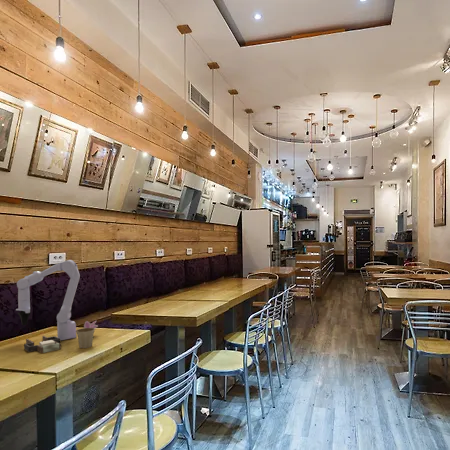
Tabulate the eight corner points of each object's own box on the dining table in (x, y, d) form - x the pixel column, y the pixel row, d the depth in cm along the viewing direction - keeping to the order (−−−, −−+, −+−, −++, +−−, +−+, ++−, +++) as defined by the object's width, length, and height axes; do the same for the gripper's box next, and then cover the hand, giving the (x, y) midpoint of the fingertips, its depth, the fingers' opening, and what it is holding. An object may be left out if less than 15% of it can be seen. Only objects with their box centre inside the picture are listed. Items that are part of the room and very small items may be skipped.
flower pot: (99, 345, 198) (99, 328, 198) (85, 350, 189) (85, 332, 190) (85, 343, 202) (85, 327, 202) (71, 348, 193) (71, 331, 194)
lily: (102, 335, 223) (95, 321, 225) (103, 331, 213) (96, 316, 215) (81, 345, 217) (75, 330, 219) (82, 341, 207) (75, 325, 209)
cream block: (52, 347, 197) (52, 339, 197) (55, 350, 192) (54, 342, 193) (39, 350, 194) (39, 342, 194) (42, 352, 189) (41, 344, 189)
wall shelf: (51, 338, 216) (51, 333, 216) (68, 347, 196) (68, 341, 196) (18, 345, 204) (18, 339, 204) (33, 354, 184) (33, 348, 184)
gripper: (12, 299, 215) (13, 324, 214) (19, 302, 204) (20, 327, 203) (26, 298, 219) (26, 322, 219) (33, 300, 209) (34, 325, 208)
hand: (24, 324), depth 211 cm, fingers closed
